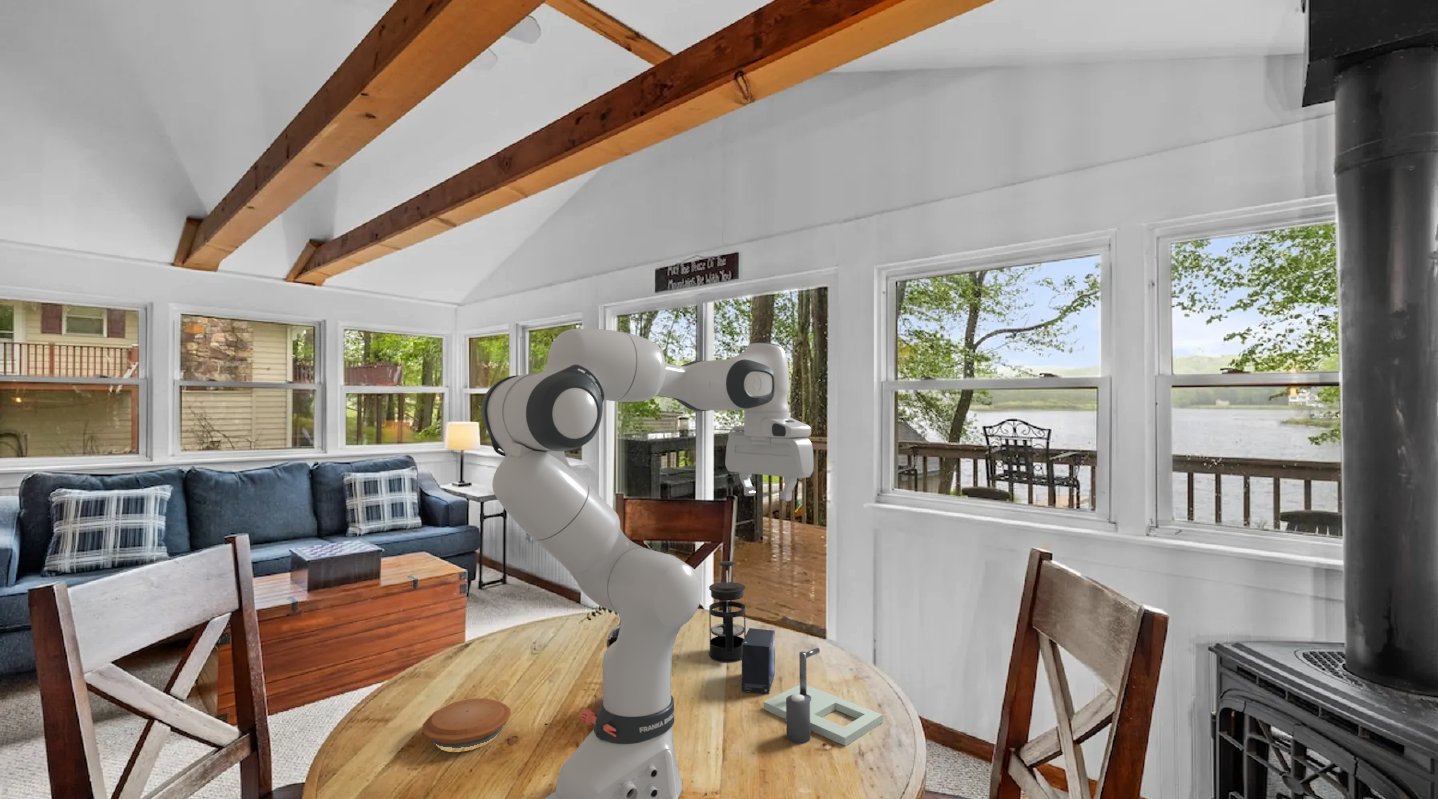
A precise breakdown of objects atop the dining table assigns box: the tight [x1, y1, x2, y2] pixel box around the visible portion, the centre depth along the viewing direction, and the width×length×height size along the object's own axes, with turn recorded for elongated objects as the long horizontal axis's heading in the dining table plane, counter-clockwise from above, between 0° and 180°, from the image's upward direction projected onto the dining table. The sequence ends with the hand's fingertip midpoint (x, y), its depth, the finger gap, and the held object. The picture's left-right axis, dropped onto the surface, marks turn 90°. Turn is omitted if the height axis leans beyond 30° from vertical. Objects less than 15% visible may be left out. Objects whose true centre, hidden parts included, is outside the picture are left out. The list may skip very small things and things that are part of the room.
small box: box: [740, 627, 776, 695], centre depth 144 cm, size 11×6×10 cm, turn 168°
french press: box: [708, 560, 747, 663], centre depth 160 cm, size 12×9×23 cm
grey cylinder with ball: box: [785, 694, 811, 745], centre depth 121 cm, size 4×4×8 cm
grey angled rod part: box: [798, 647, 821, 701], centre depth 134 cm, size 7×3×10 cm, turn 134°
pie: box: [421, 698, 512, 748], centre depth 122 cm, size 15×16×5 cm
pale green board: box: [763, 683, 884, 747], centre depth 129 cm, size 12×20×2 cm, turn 44°
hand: (767, 498), depth 126 cm, fingers open, 8 cm apart
